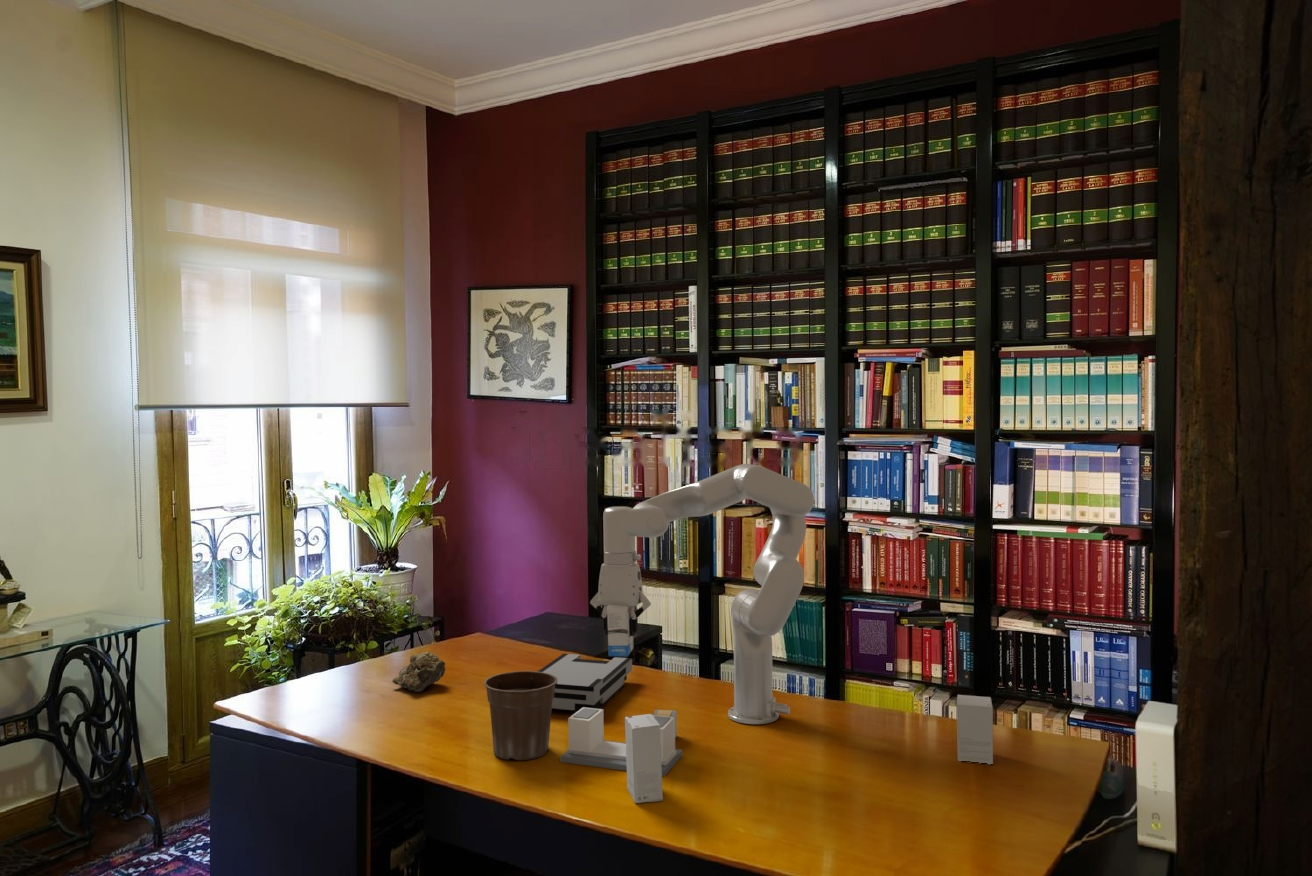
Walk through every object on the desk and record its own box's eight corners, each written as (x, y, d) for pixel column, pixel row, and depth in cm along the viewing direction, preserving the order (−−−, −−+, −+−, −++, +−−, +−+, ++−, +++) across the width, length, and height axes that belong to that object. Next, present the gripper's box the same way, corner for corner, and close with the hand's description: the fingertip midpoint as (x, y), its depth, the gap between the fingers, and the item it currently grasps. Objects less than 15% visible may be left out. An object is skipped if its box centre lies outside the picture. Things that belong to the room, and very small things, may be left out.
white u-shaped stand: (682, 755, 198) (682, 714, 198) (664, 775, 187) (664, 732, 186) (583, 743, 206) (582, 703, 206) (560, 762, 195) (560, 720, 194)
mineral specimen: (380, 688, 249) (380, 653, 249) (417, 677, 259) (417, 643, 259) (415, 697, 241) (415, 661, 240) (452, 686, 251) (451, 650, 251)
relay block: (676, 736, 210) (676, 709, 210) (672, 745, 204) (672, 718, 204) (655, 734, 211) (655, 708, 211) (651, 744, 205) (651, 717, 205)
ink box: (628, 657, 210) (627, 607, 209) (607, 656, 210) (606, 607, 210) (634, 647, 218) (633, 599, 218) (614, 647, 219) (613, 599, 218)
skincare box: (663, 801, 174) (662, 725, 174) (633, 805, 173) (632, 728, 172) (653, 784, 182) (653, 712, 182) (624, 787, 181) (624, 714, 181)
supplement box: (992, 753, 198) (992, 696, 197) (993, 766, 191) (993, 707, 190) (957, 749, 200) (957, 693, 200) (956, 761, 193) (956, 703, 193)
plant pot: (529, 733, 212) (528, 666, 212) (572, 751, 201) (572, 679, 201) (470, 751, 201) (470, 680, 201) (513, 771, 190) (512, 696, 189)
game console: (632, 683, 254) (631, 654, 254) (594, 719, 223) (593, 687, 223) (563, 677, 259) (563, 649, 259) (517, 712, 229) (517, 680, 228)
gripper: (658, 557, 215) (659, 632, 215) (591, 555, 220) (592, 628, 220) (649, 562, 208) (650, 640, 208) (580, 560, 212) (581, 636, 213)
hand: (620, 633), depth 214 cm, fingers closed on ink box, 5 cm apart
